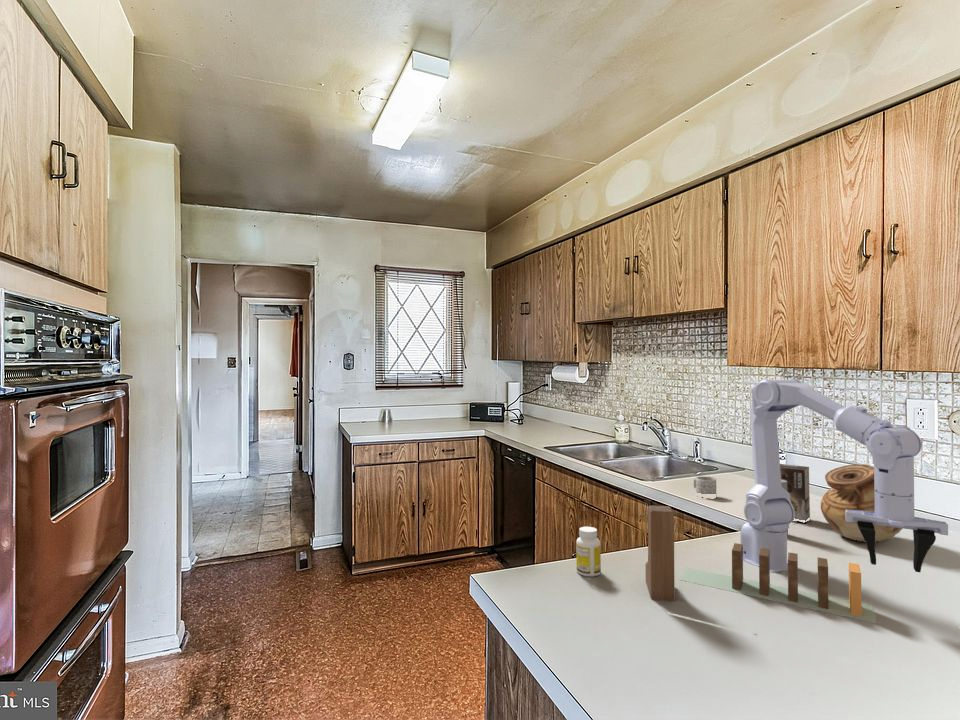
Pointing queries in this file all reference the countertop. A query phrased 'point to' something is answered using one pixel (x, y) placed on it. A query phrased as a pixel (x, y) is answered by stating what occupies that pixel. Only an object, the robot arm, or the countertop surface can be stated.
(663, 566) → the wooden block
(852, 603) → the orange domino
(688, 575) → the mat
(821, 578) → the domino
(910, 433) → the robot arm
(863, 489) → the clay pot
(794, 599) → the domino
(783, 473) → the coffee box
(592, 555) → the supplement bottle
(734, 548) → the domino
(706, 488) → the mug
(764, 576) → the domino
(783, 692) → the countertop surface
